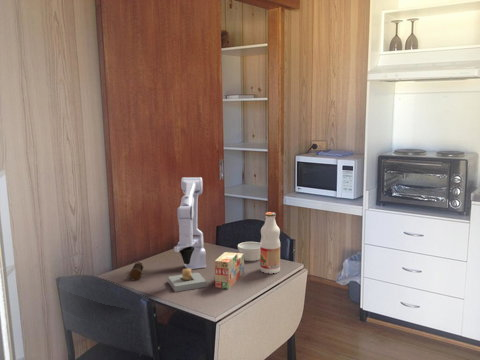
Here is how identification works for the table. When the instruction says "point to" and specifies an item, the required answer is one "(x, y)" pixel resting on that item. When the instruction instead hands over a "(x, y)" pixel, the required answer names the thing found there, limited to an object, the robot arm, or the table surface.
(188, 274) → the peg
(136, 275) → the bolt
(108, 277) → the table surface
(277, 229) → the fruit juice
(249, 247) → the ramekin
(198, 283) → the board
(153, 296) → the table surface
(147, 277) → the table surface
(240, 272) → the stack of blocks
